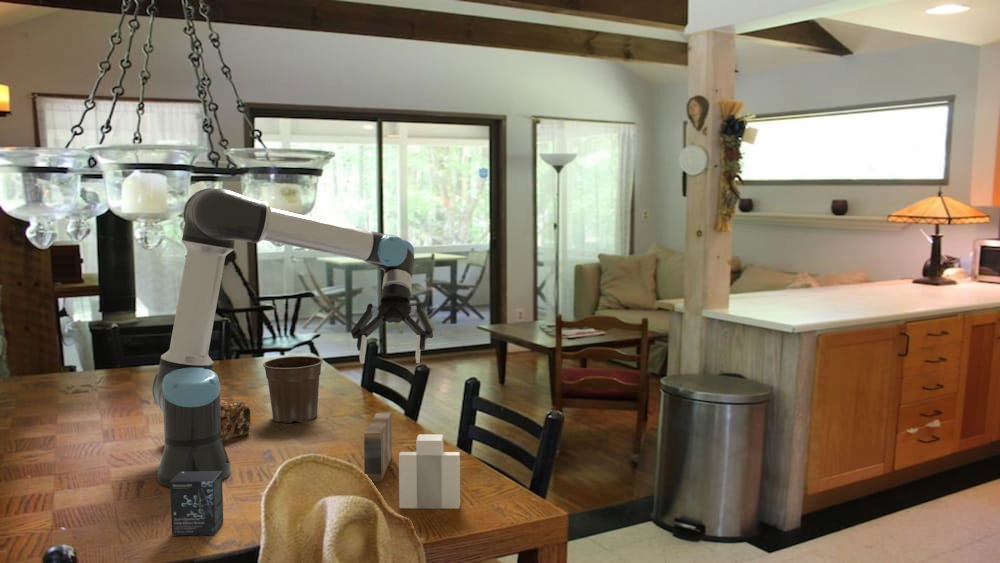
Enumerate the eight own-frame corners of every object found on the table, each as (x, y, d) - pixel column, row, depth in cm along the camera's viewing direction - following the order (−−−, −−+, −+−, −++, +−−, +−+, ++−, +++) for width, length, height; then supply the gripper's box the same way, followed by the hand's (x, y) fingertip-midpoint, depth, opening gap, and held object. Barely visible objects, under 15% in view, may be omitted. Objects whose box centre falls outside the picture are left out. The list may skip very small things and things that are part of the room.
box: (171, 537, 141) (169, 481, 140) (182, 524, 147) (180, 470, 146) (215, 536, 142) (213, 480, 141) (224, 523, 147) (222, 469, 146)
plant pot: (252, 422, 213) (250, 364, 212) (288, 407, 228) (286, 353, 227) (301, 428, 208) (299, 369, 206) (335, 413, 222) (334, 358, 221)
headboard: (459, 508, 155) (459, 440, 153) (399, 508, 155) (398, 440, 153) (461, 493, 163) (461, 428, 161) (404, 493, 163) (404, 428, 161)
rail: (381, 481, 169) (380, 433, 168) (364, 481, 169) (363, 433, 168) (392, 457, 185) (391, 412, 184) (376, 457, 185) (376, 412, 184)
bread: (185, 452, 189) (183, 412, 188) (164, 443, 196) (162, 404, 194) (253, 434, 203) (251, 397, 202) (231, 426, 210) (229, 390, 209)
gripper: (445, 299, 204) (441, 368, 191) (351, 300, 204) (341, 369, 191) (443, 281, 198) (439, 351, 185) (346, 282, 198) (335, 352, 185)
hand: (389, 360), depth 188 cm, fingers open, 13 cm apart
